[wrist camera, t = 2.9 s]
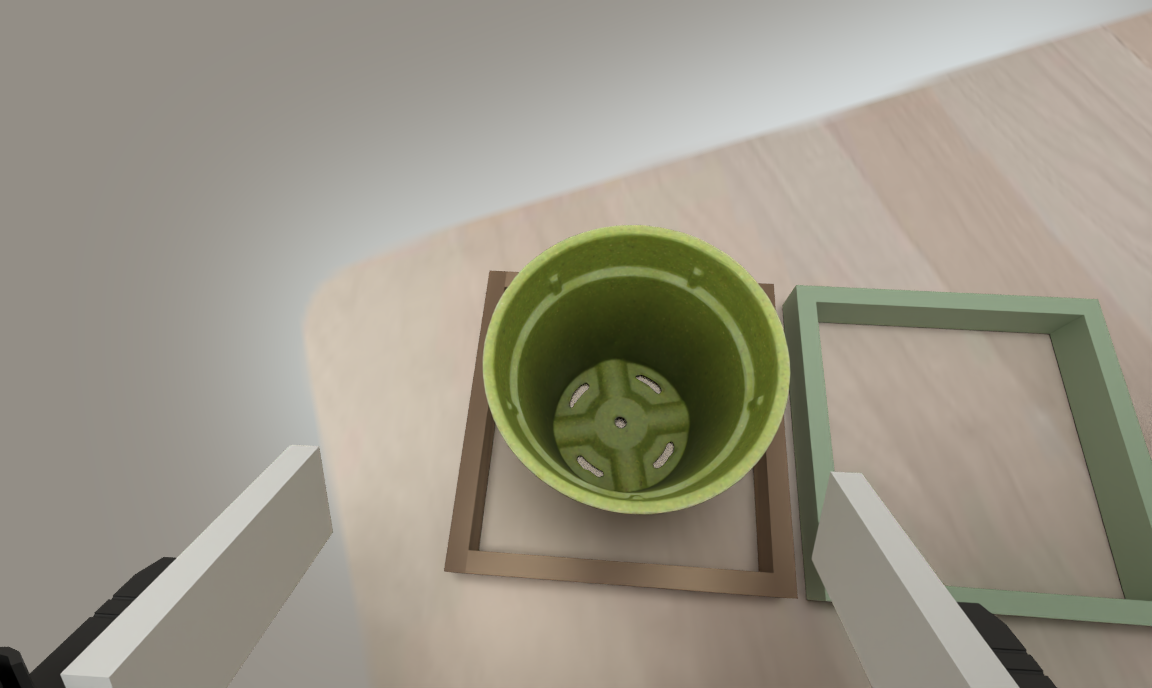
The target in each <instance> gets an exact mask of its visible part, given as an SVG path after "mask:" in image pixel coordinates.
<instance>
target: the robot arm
mask: <svg viewBox="0 0 1152 688" xmlns="http://www.w3.org/2000/svg"><path fill="white" fill-rule="evenodd" d="M332 533H333V529H332V523H331V516H330V510H329V504H328V498H327V492H326V485H325V479H324V473H323V467H322V461H321V454H320V448H319V446H304V445H290V446H289V447H288V448H287V449H286V450H285V451H284V452H283V453H282V454H281V455H280V456H279V457H278V458H277V459H276V460H275V461H274V462H273V463H272V464H271V465H270V466H269V467H268V468H267V469H266V470H265V471H264V472H263V473H262V474H261V475H260V476H259V477H258V478H257V479H256V480H255V481H254V482H253V483H252V484H251V485H250V486H249V487H248V488H247V489H246V490H245V491H244V492H243V493H242V494H241V495H240V496H239V497H238V498H237V499H236V500H235V501H234V502H233V503H232V504H231V505H230V506H229V507H228V508H227V509H226V510H225V511H224V512H223V513H222V514H221V515H220V516H219V517H218V518H217V519H216V520H215V521H213V522H212V524H210V525H209V527H208V528H206V529H205V531H203V533H201V534H200V535H199V536H198V538H196V539H195V540H194V541H193V543H191V545H189V546H188V547H187V548H186V549H185V550H184V551H183V552H182V553H181V554H180V555H179V557H177V558H171V557H163V558H161V559H160V560H158V561H157V562H155V563H153V564H152V565H150V566H148V567H147V568H145V569H143V570H142V571H140V572H138V573H137V574H135V575H134V576H133V577H132V578H131V579H130V580H129V581H128V582H127V583H126V584H124V586H122V587H121V588H120V589H119V590H118V591H117V592H116V593H115V594H114V595H113V598H112V599H111V600H108V601H106V603H104V605H102V606H101V607H100V608H99V609H98V610H97V611H96V612H95V615H94V616H93V617H90V618H88V619H87V621H85V622H84V623H83V624H82V625H81V626H80V627H79V628H78V629H77V630H76V631H75V632H74V633H73V634H71V635H70V636H69V637H68V638H67V639H66V640H65V641H64V642H63V643H62V644H61V645H60V646H59V647H58V648H57V649H56V650H55V651H54V652H52V653H51V654H50V655H49V656H48V657H47V658H46V659H45V660H44V661H43V662H42V663H41V664H40V665H39V666H37V668H35V669H34V670H33V671H32V672H31V673H30V674H29V672H28V670H27V667H26V665H25V663H24V661H23V659H22V656H21V654H20V652H19V651H17V650H15V649H12V648H10V647H0V688H227V687H228V685H229V684H230V683H231V681H232V680H233V678H234V677H235V675H236V674H237V672H238V671H239V669H240V668H241V666H242V665H243V663H244V662H245V661H246V659H247V658H248V656H249V655H250V653H251V652H252V650H253V649H254V647H255V646H256V644H257V643H258V642H259V640H260V639H261V637H262V635H263V634H264V633H265V631H266V630H267V628H268V627H269V625H270V624H271V622H272V621H273V619H274V618H275V617H276V615H277V614H278V612H279V611H280V609H281V608H282V606H283V605H284V603H285V602H286V600H287V599H288V597H289V596H290V595H291V593H292V592H293V590H294V589H295V587H296V586H297V584H298V582H299V581H300V580H301V578H302V577H303V575H304V574H305V572H306V571H307V570H308V568H309V567H310V565H311V564H312V562H313V561H314V559H315V558H316V556H317V555H318V553H319V552H320V550H321V549H322V548H323V546H324V545H325V543H326V542H327V540H328V539H329V537H330V536H331V534H332ZM811 559H812V561H813V563H814V565H815V568H816V570H817V572H818V574H819V576H820V578H821V580H822V582H823V584H824V587H825V589H826V591H827V593H828V595H829V597H830V599H831V601H832V603H833V606H834V608H835V610H836V612H837V614H838V616H839V618H840V620H841V622H842V625H843V627H844V629H845V631H846V633H847V635H848V637H849V639H850V641H851V644H852V646H853V648H854V650H855V652H856V654H857V656H858V658H859V661H860V663H861V665H862V667H863V669H864V671H865V673H866V675H867V677H868V680H869V682H870V684H871V686H872V688H1057V687H1056V686H1055V685H1054V684H1053V682H1052V681H1051V680H1050V679H1049V677H1048V676H1044V674H1043V670H1042V669H1041V667H1040V666H1039V665H1038V664H1037V662H1036V661H1035V660H1034V659H1033V657H1032V656H1031V655H1028V654H1027V652H1026V649H1025V647H1024V646H1023V645H1022V644H1021V642H1020V641H1019V640H1018V639H1017V638H1016V636H1015V635H1014V634H1013V633H1012V631H1011V630H1010V629H1009V628H1008V626H1007V625H1006V624H1005V623H1003V622H1002V621H1001V620H1000V619H998V618H997V617H996V616H994V615H993V614H992V613H991V612H989V611H988V610H987V609H986V608H984V607H983V606H982V605H981V604H979V603H970V602H956V601H955V599H954V598H953V597H952V595H951V594H950V593H949V591H948V590H947V589H946V587H945V586H944V584H943V583H942V582H941V580H940V579H939V578H938V576H937V575H936V574H935V572H934V571H933V570H932V568H931V567H930V565H929V564H928V563H927V561H926V560H925V559H924V557H923V556H922V555H921V553H920V552H919V551H918V549H917V548H916V546H915V545H914V544H913V542H912V541H911V540H910V538H909V537H908V536H907V534H906V533H905V532H904V530H903V529H902V527H901V526H900V525H899V523H898V522H897V521H896V519H895V518H894V517H893V515H892V514H891V513H890V511H889V510H888V508H887V507H886V506H885V504H884V503H883V502H882V500H881V499H880V498H879V496H878V495H877V493H876V492H875V491H874V489H873V488H872V487H871V485H870V484H869V483H868V481H867V480H866V479H865V477H864V476H863V474H862V473H850V472H830V476H829V480H828V485H827V489H826V494H825V499H824V503H823V508H822V512H821V517H820V522H819V526H818V531H817V535H816V540H815V545H814V549H813V554H812V558H811Z"/></svg>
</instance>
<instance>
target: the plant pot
mask: <svg viewBox="0 0 1152 688" xmlns="http://www.w3.org/2000/svg"><path fill="white" fill-rule="evenodd" d="M639 375H643V376H646V377H647V378H649V379H651V380H653V381H654V382H656V383H657V384H658V385H659V386H660V389H661V393H660V394H658V393H656V392H655V391H654V390H653V389H651V388H650V386H648V385H647V384H645V383H643V382H642V381H640V380H638V379H636V376H639ZM483 379H484V387H485V392H486V397H487V401H488V405H489V408H490V410H491V413H492V416H493V419H494V421H495V423H496V425H497V427H498V430H499V431H500V433H501V435H502V437H503V438H504V440H505V441H506V443H507V444H508V446H509V447H510V449H511V450H512V451H513V453H514V454H515V455H516V456H517V458H518V459H519V460H520V461H521V462H522V463H523V464H524V465H525V466H526V467H527V468H528V469H529V470H530V471H531V472H532V473H534V474H535V475H536V476H537V477H538V478H539V479H541V480H542V481H543V482H545V483H546V484H548V485H549V486H550V487H552V488H554V489H555V490H557V491H558V492H560V493H562V494H564V495H565V496H567V497H569V498H571V499H574V500H576V501H578V502H581V503H583V504H586V505H589V506H591V507H595V508H598V509H602V510H607V511H612V512H618V513H624V514H657V513H665V512H671V511H677V510H681V509H685V508H689V507H692V506H694V505H697V504H700V503H702V502H705V501H707V500H709V499H712V498H713V497H715V496H717V495H719V494H721V493H722V492H724V491H726V490H727V489H728V488H729V487H731V486H732V485H734V484H735V483H737V482H738V481H739V480H740V479H741V478H743V477H744V476H745V475H746V474H747V473H748V472H749V471H750V470H751V469H752V468H753V467H754V466H755V465H756V463H757V462H758V461H759V460H760V459H761V457H762V456H763V454H764V453H765V452H766V450H767V449H768V447H769V445H770V444H771V442H772V440H773V438H774V436H775V434H776V432H777V430H778V428H779V426H780V423H781V421H782V418H783V414H784V412H785V408H786V405H787V400H788V392H789V384H790V360H789V352H788V347H787V343H786V338H785V333H784V331H783V326H782V323H781V321H780V319H779V317H778V315H777V312H776V310H775V308H774V307H773V305H772V303H771V301H770V299H769V298H768V296H767V295H766V293H765V292H764V291H763V289H762V288H761V287H760V286H759V284H758V283H757V282H756V281H755V279H754V278H753V277H752V276H751V275H750V274H749V273H748V272H747V271H746V270H745V269H744V268H743V267H742V266H741V265H740V264H739V263H737V262H736V261H735V260H734V259H733V258H731V257H730V256H729V255H727V254H726V253H724V252H722V251H721V250H719V249H717V248H716V247H714V246H712V245H710V244H709V243H706V242H705V241H703V240H701V239H699V238H696V237H693V236H691V235H688V234H685V233H682V232H678V231H674V230H669V229H665V228H660V227H652V226H644V225H622V226H613V227H604V228H599V229H595V230H591V231H587V232H584V233H581V234H578V235H575V236H572V237H570V238H567V239H565V240H563V241H561V242H559V243H557V244H555V245H554V246H552V247H550V248H549V249H547V250H546V251H544V252H543V253H541V254H540V255H539V256H537V257H536V258H535V259H533V260H532V261H531V262H530V263H528V264H527V265H526V266H525V267H524V268H523V269H522V270H521V271H520V272H519V273H518V275H517V276H516V277H515V278H514V279H513V281H512V282H511V284H510V285H509V286H508V288H507V289H506V290H505V292H504V293H503V295H502V297H501V298H500V300H499V302H498V304H497V306H496V308H495V310H494V313H493V315H492V318H491V321H490V324H489V327H488V331H487V334H486V338H485V343H484V351H483ZM585 383H587V384H589V389H588V390H586V391H585V392H584V393H583V395H581V397H580V398H579V399H578V400H577V402H576V403H574V406H573V407H572V408H571V407H570V400H571V398H572V395H573V394H574V392H575V391H576V390H577V388H579V387H580V386H581V385H583V384H585ZM617 417H623V418H624V419H625V420H626V422H627V424H626V426H625V427H623V428H619V427H618V426H616V425H615V420H616V418H617ZM669 442H673V445H674V451H673V453H672V455H671V456H670V457H669V458H668V460H667V461H666V463H665V464H664V465H663V466H661V467H660V468H654V466H653V463H654V462H655V461H656V460H657V459H658V458H659V457H660V456H661V454H662V453H663V452H664V450H665V448H666V445H667V444H668V443H669ZM578 456H583V457H584V459H585V460H587V461H588V462H589V463H590V464H591V465H593V466H594V467H596V468H597V469H599V470H601V471H603V474H604V475H603V476H601V477H597V476H595V475H594V474H593V473H592V472H591V471H589V470H585V469H583V468H582V467H581V466H580V464H579V463H578V462H577V457H578Z"/></svg>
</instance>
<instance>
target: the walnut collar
mask: <svg viewBox="0 0 1152 688" xmlns="http://www.w3.org/2000/svg"><path fill="white" fill-rule="evenodd" d="M518 273H519V272H505V271H490V272H489V278H488V285H487V291H486V298H485V305H484V311H483V318H482V324H481V331H480V338H479V344H478V351H477V357H476V364H475V371H474V377H473V384H472V390H471V397H470V403H469V410H468V417H467V423H466V430H465V436H464V443H463V450H462V456H461V463H460V469H459V476H458V483H457V489H456V496H455V502H454V509H453V516H452V522H451V529H450V535H449V542H448V548H447V555H446V562H445V568H444V571H446V572H456V573H469V574H482V575H495V576H508V577H521V578H534V579H547V580H560V581H573V582H585V583H598V584H611V585H624V586H637V587H650V588H663V589H676V590H689V591H702V592H715V593H728V594H741V595H754V596H767V597H780V598H797V599H798V596H797V583H796V570H795V556H794V543H793V530H792V517H791V504H790V491H789V478H788V465H787V452H786V439H785V426H784V414H783V418H782V421H781V423H780V426H779V428H778V430H777V432H776V434H775V436H774V438H773V440H772V442H771V444H770V445H769V447H768V449H767V450H766V452H765V453H764V454H763V456H762V457H761V459H760V460H759V461H758V462H757V463H756V465H755V466H754V467H753V468H754V487H755V505H756V524H757V543H758V562H759V572H753V571H740V570H726V569H713V568H699V567H686V566H673V565H659V564H646V563H633V562H619V561H606V560H593V559H579V558H566V557H552V556H539V555H526V554H512V553H499V552H486V551H479V543H480V536H481V528H482V520H483V513H484V505H485V497H486V490H487V482H488V475H489V467H490V459H491V452H492V444H493V436H494V429H495V421H494V419H493V416H492V413H491V410H490V408H489V405H488V401H487V397H486V392H485V387H484V379H483V351H484V343H485V338H486V334H487V331H488V327H489V324H490V321H491V318H492V315H493V313H494V310H495V308H496V306H497V304H498V302H499V300H500V298H501V297H502V295H503V293H504V292H505V290H506V289H507V288H508V286H509V285H510V284H511V282H512V281H513V279H514V278H515V277H516V276H517V275H518ZM758 284H759V286H760V287H761V288H762V289H763V291H764V292H765V293H766V295H767V296H768V298H769V299H770V301H771V303H772V305H773V307H774V308H775V295H774V284H761V283H758ZM775 310H776V309H775Z"/></svg>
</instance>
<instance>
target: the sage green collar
mask: <svg viewBox="0 0 1152 688" xmlns="http://www.w3.org/2000/svg"><path fill="white" fill-rule="evenodd" d="M783 317H784V330H785V338H786V343H787V347H788V352H789V360H790V384H789V390H790V402H791V415H792V427H793V439H794V451H795V463H796V475H797V487H798V500H799V512H800V524H801V536H802V548H803V560H804V572H805V585H806V597H807V600H819V601H831V599H830V597H829V595H828V593H827V591H826V589H825V587H824V584H823V582H822V580H821V578H820V576H819V574H818V572H817V570H816V568H815V565H814V563H813V561H812V559H811V558H812V554H813V549H814V545H815V540H816V535H817V531H818V526H819V522H820V517H821V512H822V508H823V503H824V499H825V494H826V489H827V485H828V480H829V476H830V472H834V463H833V454H832V445H831V436H830V426H829V417H828V408H827V399H826V390H825V380H824V371H823V362H822V353H821V344H820V335H819V325H818V322H826V323H846V324H866V325H886V326H906V327H925V328H945V329H965V330H985V331H1005V332H1025V333H1045V334H1050V336H1051V340H1052V343H1053V347H1054V350H1055V354H1056V357H1057V361H1058V364H1059V368H1060V371H1061V375H1062V378H1063V382H1064V385H1065V389H1066V392H1067V396H1068V399H1069V403H1070V406H1071V410H1072V413H1073V417H1074V420H1075V424H1076V427H1077V431H1078V434H1079V438H1080V441H1081V445H1082V448H1083V452H1084V455H1085V459H1086V462H1087V466H1088V469H1089V473H1090V476H1091V480H1092V483H1093V487H1094V490H1095V494H1096V497H1097V501H1098V504H1099V508H1100V511H1101V515H1102V518H1103V522H1104V525H1105V529H1106V532H1107V536H1108V539H1109V543H1110V546H1111V550H1112V553H1113V557H1114V560H1115V564H1116V567H1117V571H1118V574H1119V578H1120V581H1121V585H1122V588H1123V592H1124V595H1125V599H1114V598H1101V597H1087V596H1074V595H1060V594H1047V593H1034V592H1020V591H1007V590H994V589H980V588H967V587H953V586H945V587H946V589H947V590H948V591H949V593H950V594H951V595H952V597H953V598H954V599H955V601H956V602H970V603H979V604H981V605H982V606H983V607H984V608H986V609H987V610H988V611H989V612H991V613H992V614H1000V615H1013V616H1026V617H1039V618H1052V619H1065V620H1078V621H1091V622H1104V623H1117V624H1130V625H1143V626H1152V461H1151V458H1150V455H1149V452H1148V449H1147V446H1146V443H1145V440H1144V437H1143V434H1142V431H1141V428H1140V425H1139V422H1138V419H1137V416H1136V413H1135V410H1134V407H1133V404H1132V401H1131V398H1130V395H1129V392H1128V389H1127V386H1126V383H1125V380H1124V377H1123V374H1122V371H1121V368H1120V365H1119V362H1118V358H1117V355H1116V352H1115V349H1114V346H1113V343H1112V340H1111V337H1110V334H1109V331H1108V328H1107V325H1106V322H1105V319H1104V316H1103V313H1102V310H1101V307H1100V304H1099V301H1098V299H1080V298H1059V297H1037V296H1016V295H995V294H974V293H952V292H931V291H910V290H888V289H867V288H846V287H825V286H803V285H796V286H795V288H794V289H793V291H792V292H791V294H790V295H789V297H788V298H787V300H786V301H785V303H784V304H783Z"/></svg>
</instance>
